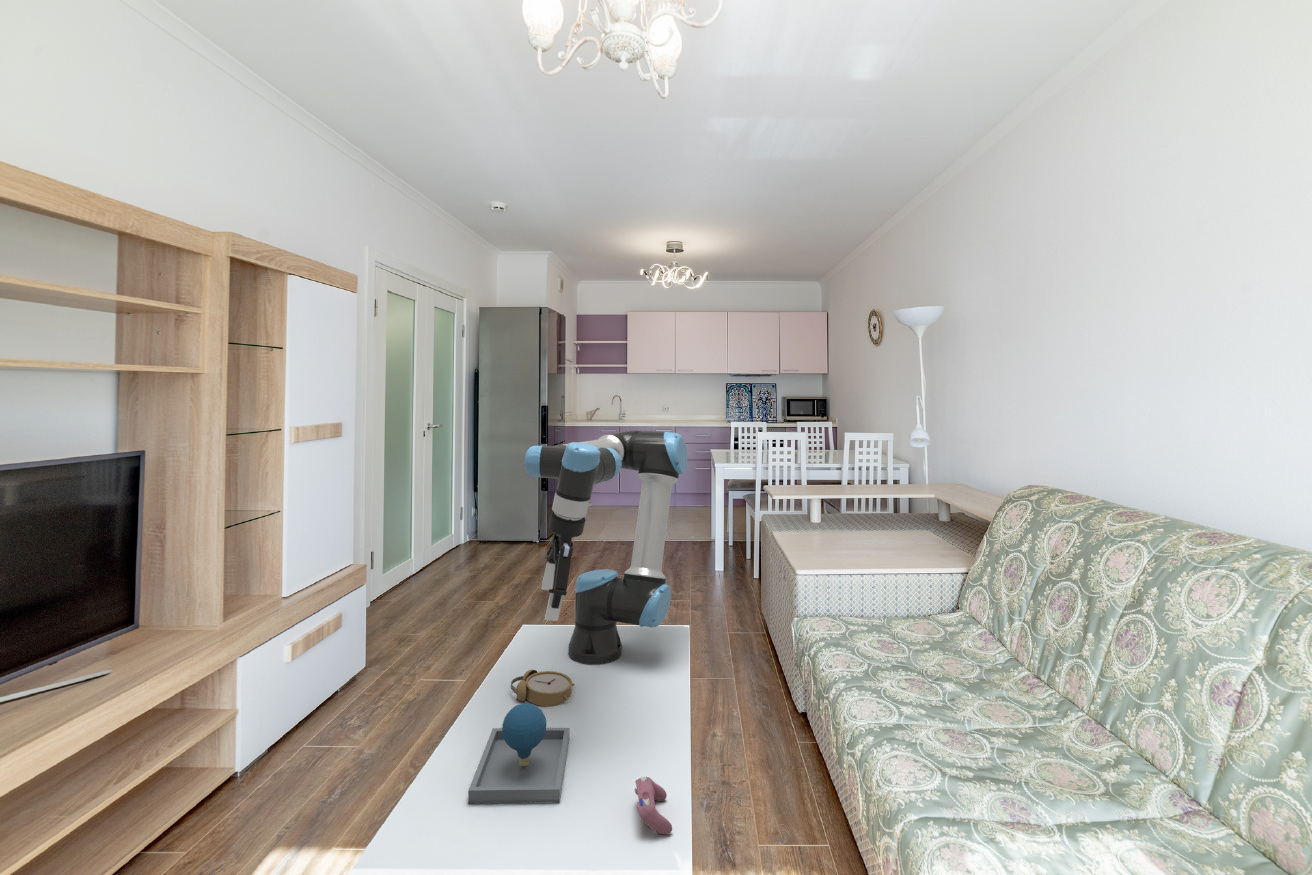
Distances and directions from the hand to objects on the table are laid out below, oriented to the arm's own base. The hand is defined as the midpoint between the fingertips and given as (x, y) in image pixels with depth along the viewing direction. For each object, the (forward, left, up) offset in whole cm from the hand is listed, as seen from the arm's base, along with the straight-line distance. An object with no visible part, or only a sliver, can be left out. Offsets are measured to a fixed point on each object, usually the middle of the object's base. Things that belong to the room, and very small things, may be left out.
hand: (549, 603), depth 132 cm
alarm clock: (-4, -11, -27) cm, 29 cm away
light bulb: (+11, +14, -26) cm, 32 cm away
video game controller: (-2, +39, -27) cm, 47 cm away
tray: (+11, +14, -26) cm, 32 cm away
